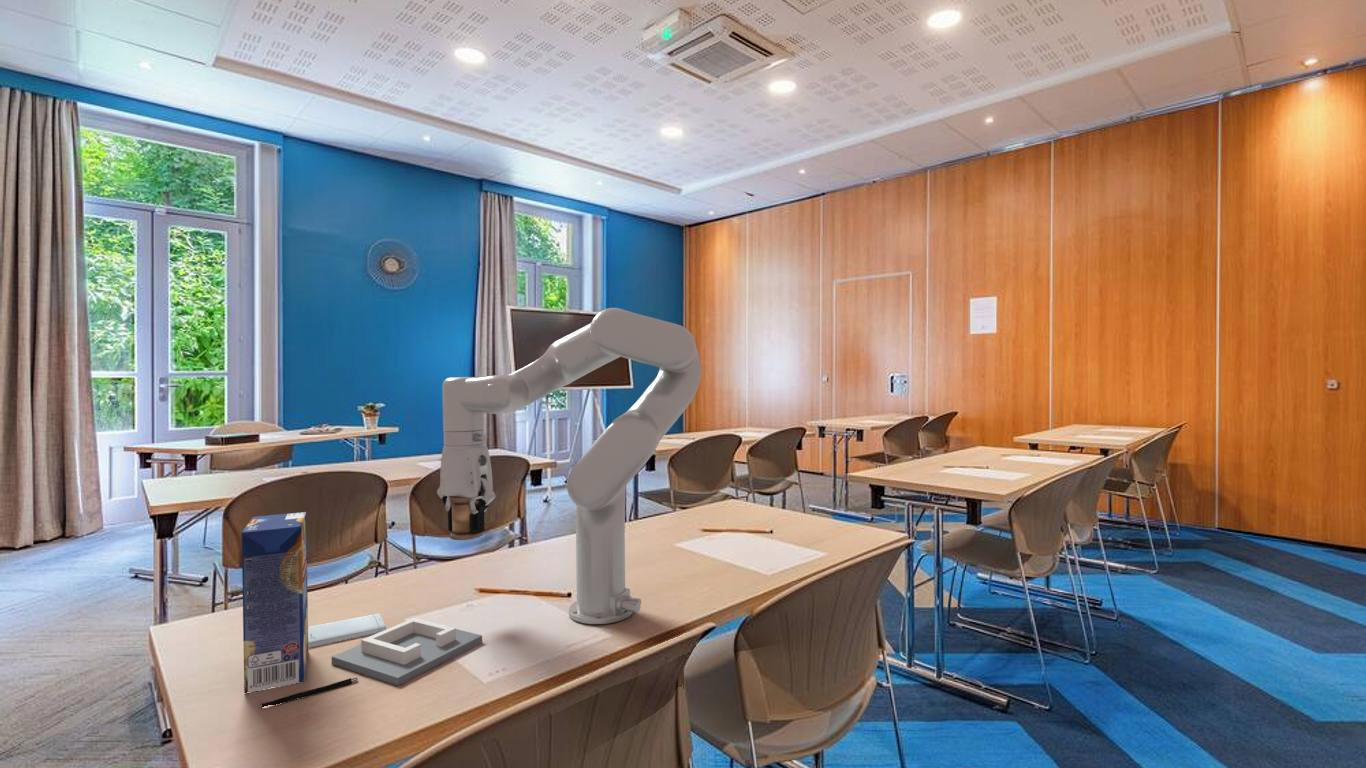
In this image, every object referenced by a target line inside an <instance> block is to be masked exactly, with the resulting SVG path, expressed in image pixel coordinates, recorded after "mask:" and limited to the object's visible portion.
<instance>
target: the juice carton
mask: <svg viewBox="0 0 1366 768" xmlns="http://www.w3.org/2000/svg"><path fill="white" fill-rule="evenodd" d="M307 536H308V532H307V511H302V512H301V511H300V512H292V513H282V514H281V513H279V514H272V515H271V514H269V515H259V516H253V517H252V518H251V519H250V520H249V522H248V523H247V524H246V526H245V528H243V530H242V532H241V568H242V569H241V570H242V571H241V574H242V575H241V576H242V580H241V581H242V582H241V583H242V628H243V630H242V632H243V634H242V635H243V637H242V640H243V641H242V642H243V691H244V692H243V693H247V692H254V691H259V690H263V689H268V688H271V687H278V688H280V687H279V686H283V687H285V686H284V685H288V686H291V684H293V685H297V684H296V683H298V684H301V683H304V681H305V677H306V670H307V664H308V663H307V662H308V659H309V658H308V657H309V648H308V627H309V614H308V613H309V612H308V611H309V609H308V607H309V605H308V604H309V603H308V601H309V600H308V599H309V598H308V547H307V546H308V544H307V543H308V537H307ZM259 692H260V691H259ZM254 693H255V692H254Z"/></svg>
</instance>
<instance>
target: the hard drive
mask: <svg viewBox="0 0 1366 768" xmlns="http://www.w3.org/2000/svg"><path fill="white" fill-rule="evenodd" d="M386 629H387V625H386V622H385V621H384V618H383V617H382V615H381V613H379V612H378V613H374V614H369V615H364V616H358V617H357V616H356V617H352V618H348V619H343V620H336V621H331V622H326V623H321V624H315V625H310V626H309V625H308V649H311V648H315V647H319V646H325V645H329V644H333V642H334V643H337V642H338V641H339V642H342V640H343V641H347V639H348V640H352V639H356V638H361V636H362V637H366V636H372V635H374V634H377V633H379V632H382V631H384V630H386ZM351 638H352V639H351Z"/></svg>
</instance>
